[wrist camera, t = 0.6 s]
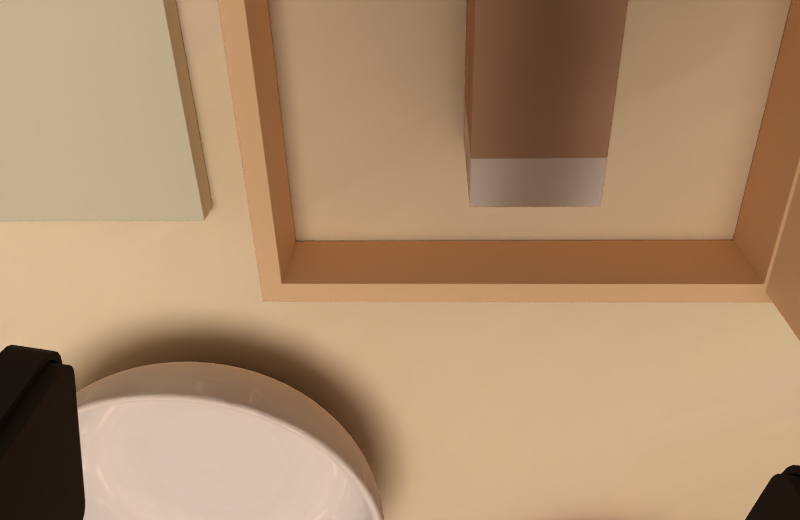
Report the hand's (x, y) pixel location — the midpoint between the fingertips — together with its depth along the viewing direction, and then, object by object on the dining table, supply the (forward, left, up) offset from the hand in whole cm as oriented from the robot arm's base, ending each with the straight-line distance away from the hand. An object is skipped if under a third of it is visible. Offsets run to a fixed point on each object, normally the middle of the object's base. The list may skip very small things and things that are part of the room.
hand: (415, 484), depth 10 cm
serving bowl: (+13, +26, -26) cm, 38 cm away
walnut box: (-4, +1, -25) cm, 26 cm away
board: (+17, +1, -25) cm, 30 cm away
